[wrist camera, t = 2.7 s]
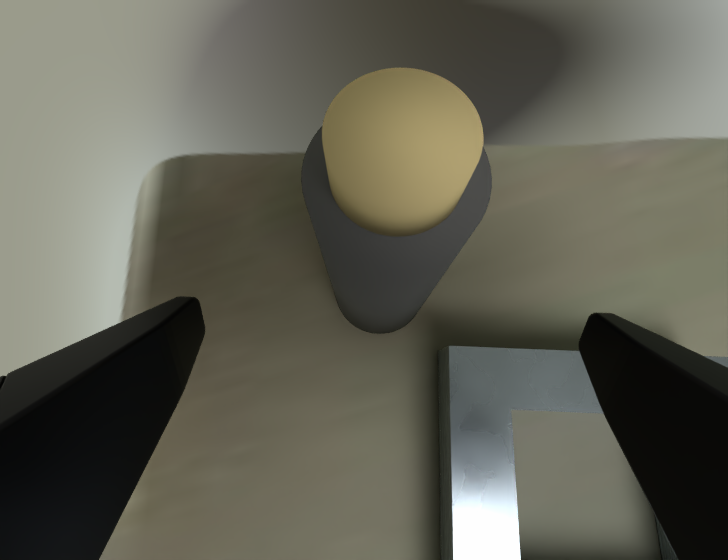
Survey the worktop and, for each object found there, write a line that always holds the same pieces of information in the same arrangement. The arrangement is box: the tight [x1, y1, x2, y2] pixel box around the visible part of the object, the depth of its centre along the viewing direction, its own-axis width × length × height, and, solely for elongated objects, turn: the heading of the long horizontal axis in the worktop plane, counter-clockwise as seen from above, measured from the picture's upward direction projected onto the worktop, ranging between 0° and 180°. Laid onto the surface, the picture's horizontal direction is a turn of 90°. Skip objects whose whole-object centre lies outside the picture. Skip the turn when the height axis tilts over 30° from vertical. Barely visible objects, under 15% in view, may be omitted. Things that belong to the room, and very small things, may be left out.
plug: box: [301, 68, 492, 334], centre depth 13 cm, size 4×4×12 cm
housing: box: [438, 346, 728, 560], centre depth 16 cm, size 12×12×2 cm
